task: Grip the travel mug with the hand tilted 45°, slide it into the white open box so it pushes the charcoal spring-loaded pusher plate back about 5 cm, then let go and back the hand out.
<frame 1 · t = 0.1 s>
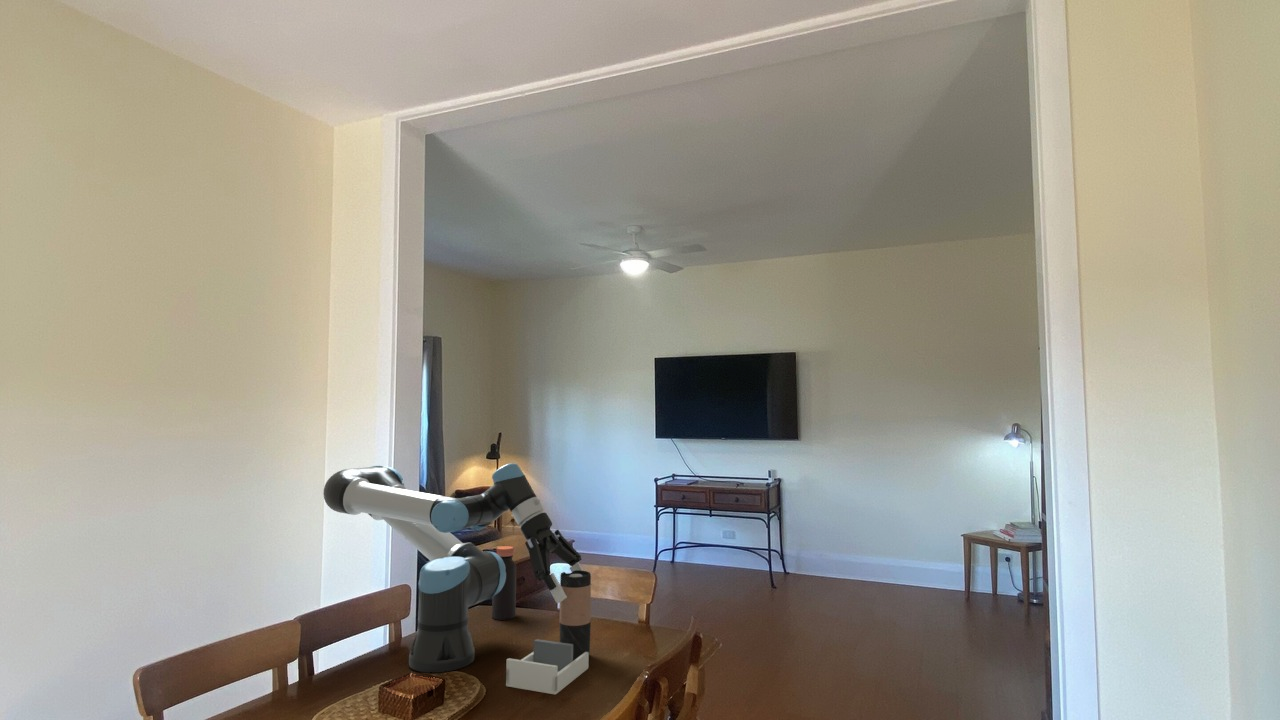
hand: (575, 593, 161), 15 cm above the table, tool tilted 35°, fingers open, 13 cm apart
bottle: (503, 617, 194), on the table
travel mug: (574, 658, 161), on the table
pusher: (553, 655, 151), point 4 cm above the table, slide at 0.0 cm
white open box: (548, 676, 149), on the table
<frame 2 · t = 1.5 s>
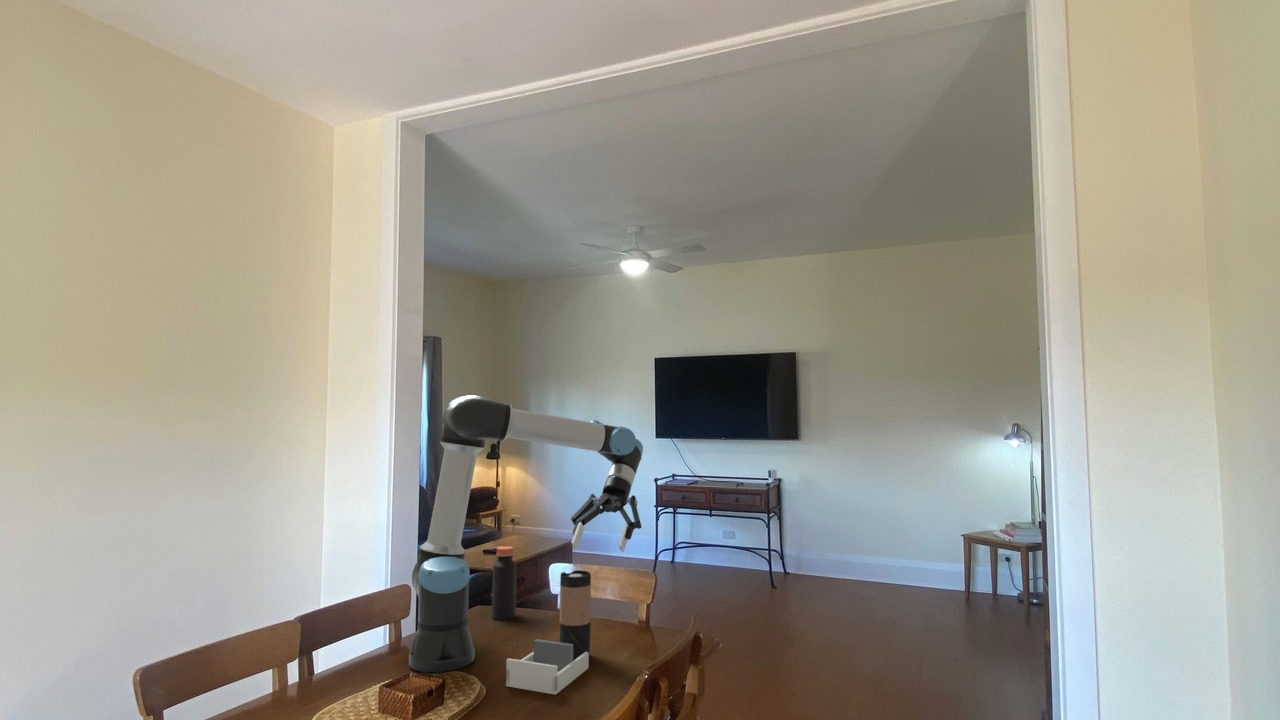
hand: (597, 547, 174), 24 cm above the table, tool tilted 45°, fingers open, 13 cm apart
nothing on the table moved.
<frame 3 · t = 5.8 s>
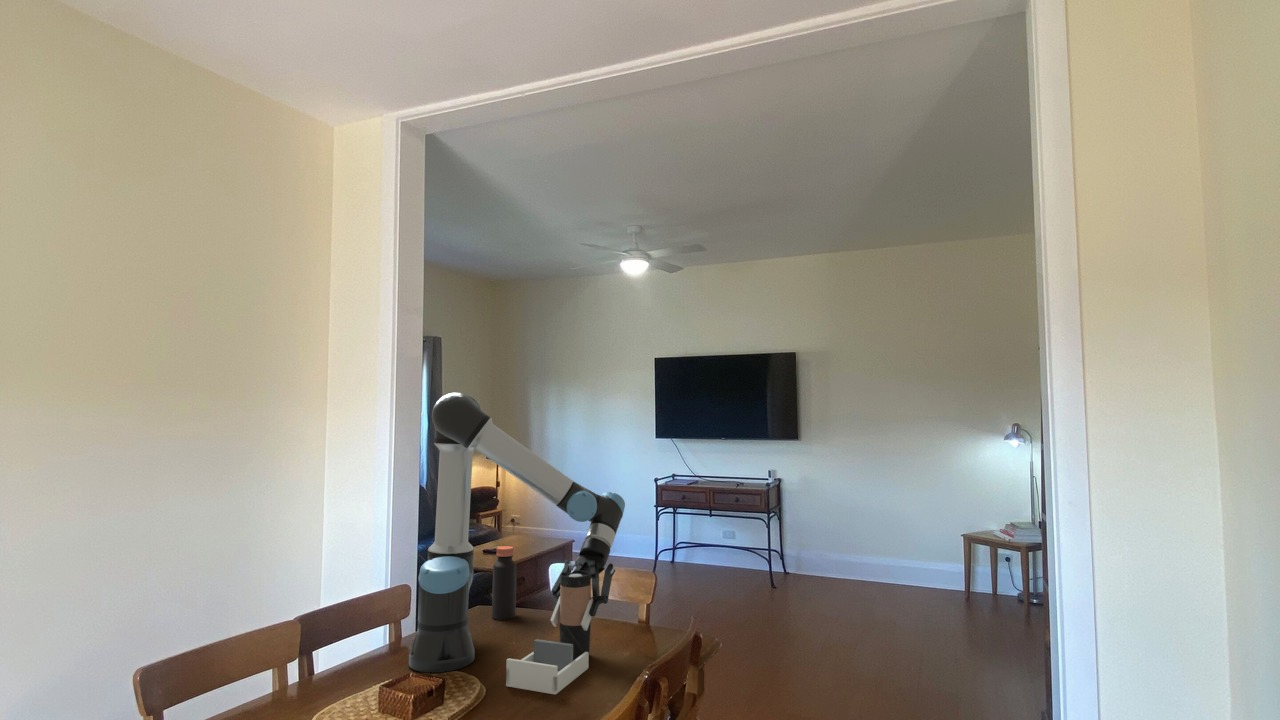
hand: (568, 625, 158), 9 cm above the table, tool tilted 45°, fingers closed on travel mug, 7 cm apart
travel mug: (574, 658, 161), on the table, touching gripper
everything else where it was.
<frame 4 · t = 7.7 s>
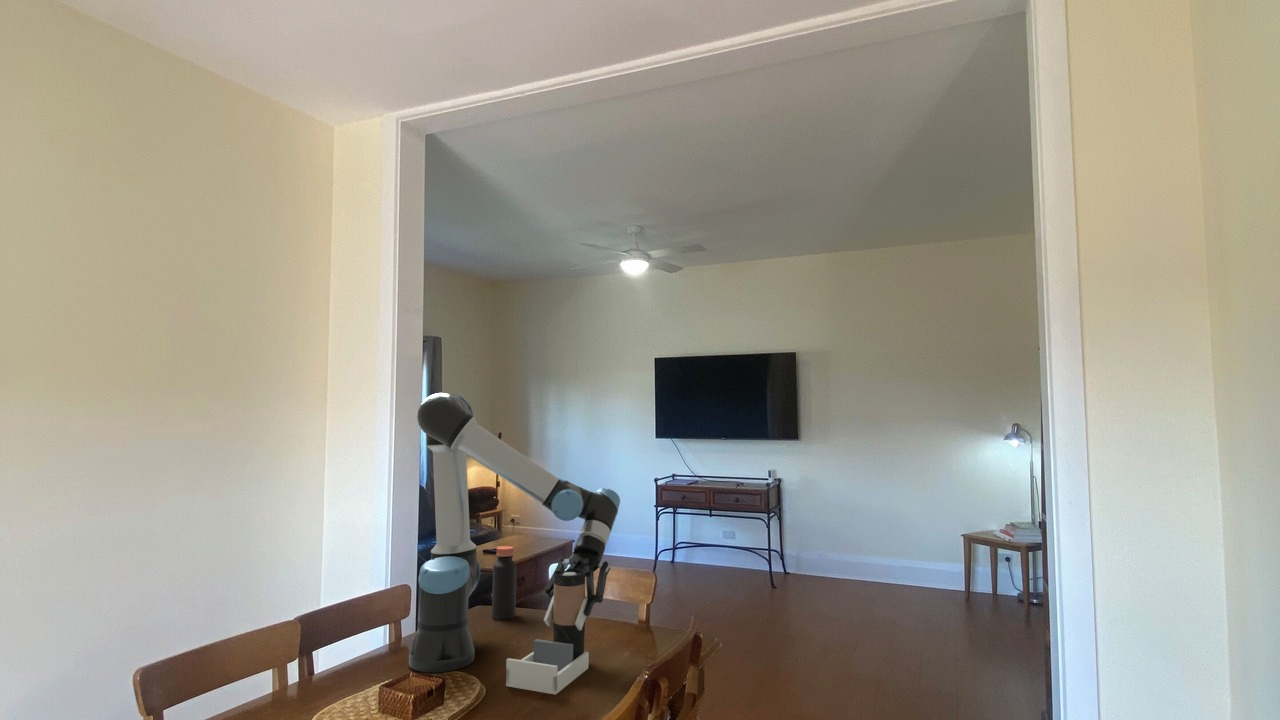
hand: (562, 625, 154), 10 cm above the table, tool tilted 45°, fingers closed on travel mug, 7 cm apart
travel mug: (568, 658, 157), point 1 cm above the table, touching gripper
everything else where it was.
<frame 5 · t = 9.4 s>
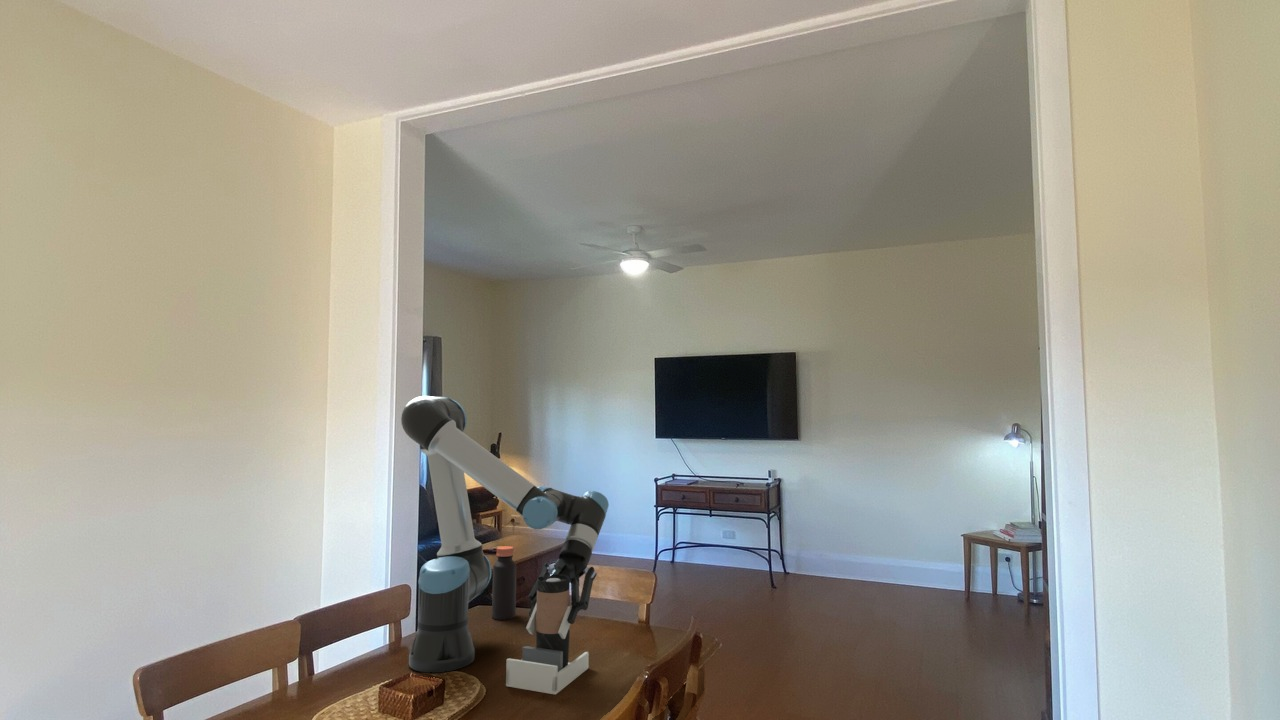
hand: (545, 633, 148), 10 cm above the table, tool tilted 45°, fingers closed on travel mug, 7 cm apart
travel mug: (552, 668, 150), point 1 cm above the table, touching gripper, pusher
pusher: (542, 663, 146), point 4 cm above the table, slide at 5.0 cm, touching travel mug
everything else where it was.
when the fingers open (10 cm above the table, at t = 9.6 s): travel mug stays where it is, resting on white open box, pusher.
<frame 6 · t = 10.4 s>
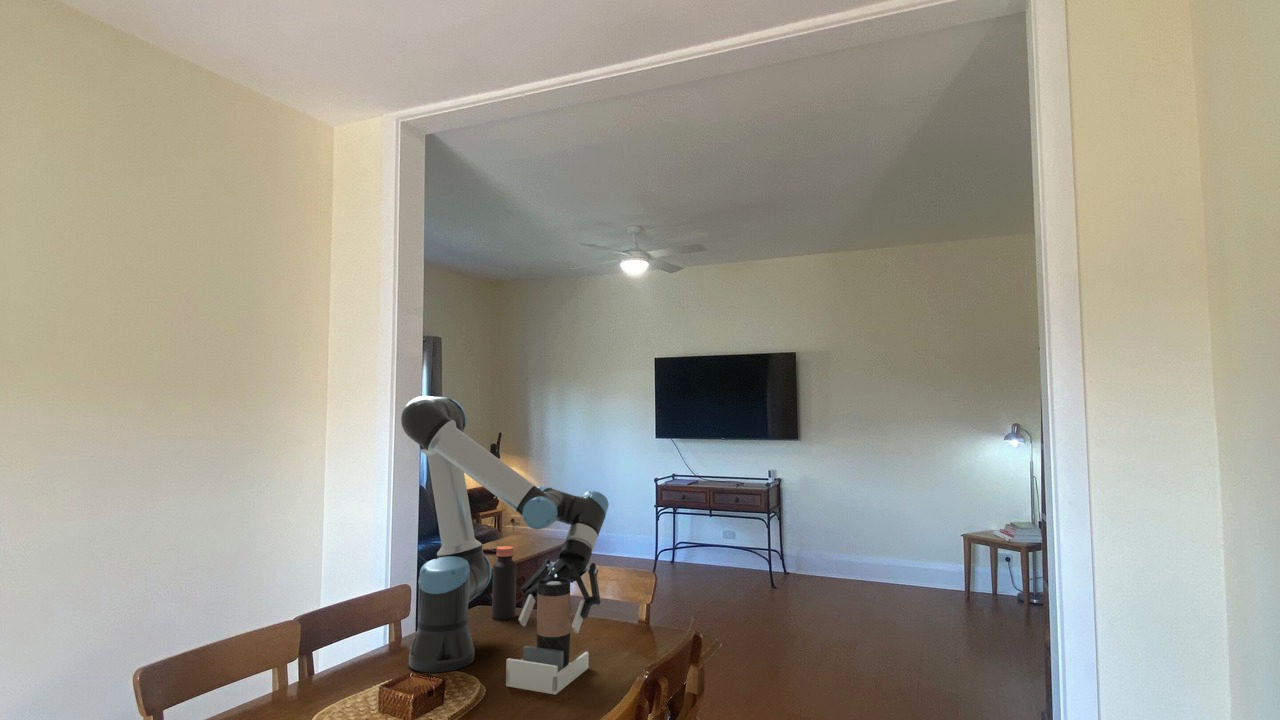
hand: (547, 626, 149), 11 cm above the table, tool tilted 45°, fingers open, 13 cm apart
travel mug: (553, 671, 151), resting on white open box, pusher
everything else where it was.
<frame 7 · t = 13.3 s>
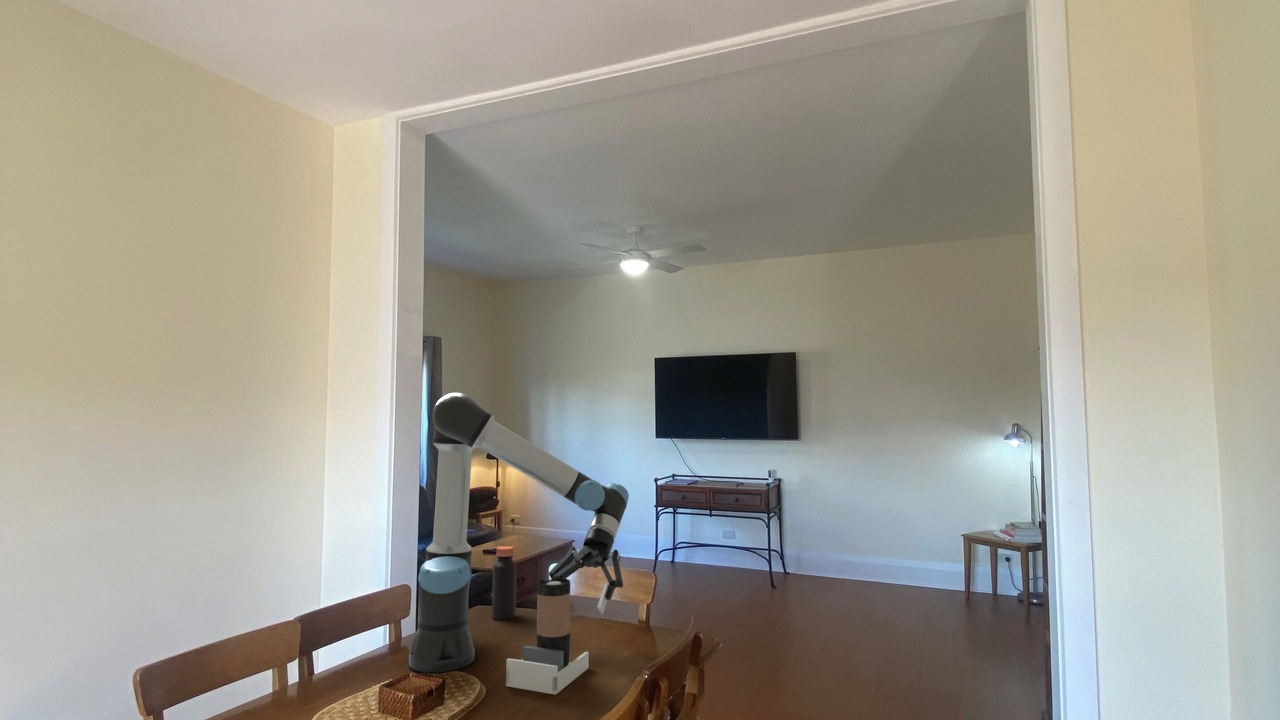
hand: (574, 607, 162), 12 cm above the table, tool tilted 45°, fingers open, 13 cm apart
nothing on the table moved.
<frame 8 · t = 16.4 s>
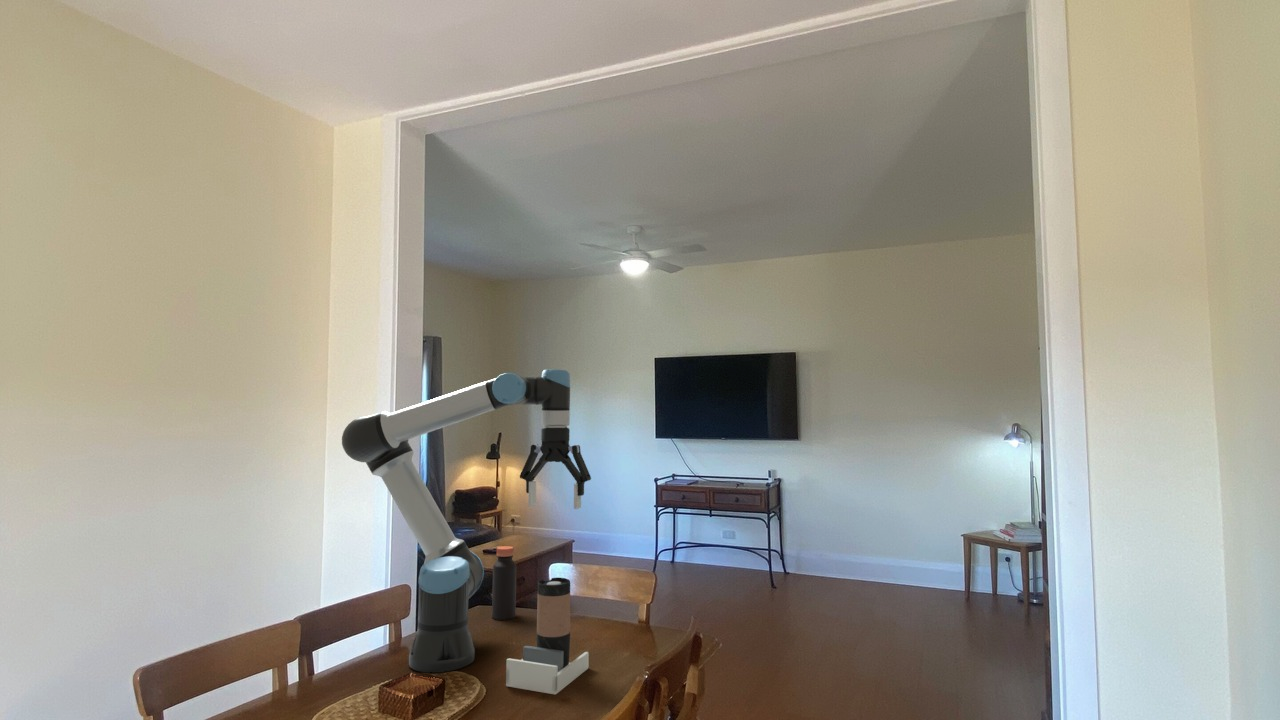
hand: (554, 507, 175), 35 cm above the table, tool pointing down, fingers open, 13 cm apart
nothing on the table moved.
at the end: travel mug inside the target area (0.5 cm from its centre), resting on white open box; pusher slide at 4.7 cm; travel mug tilted 0° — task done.
